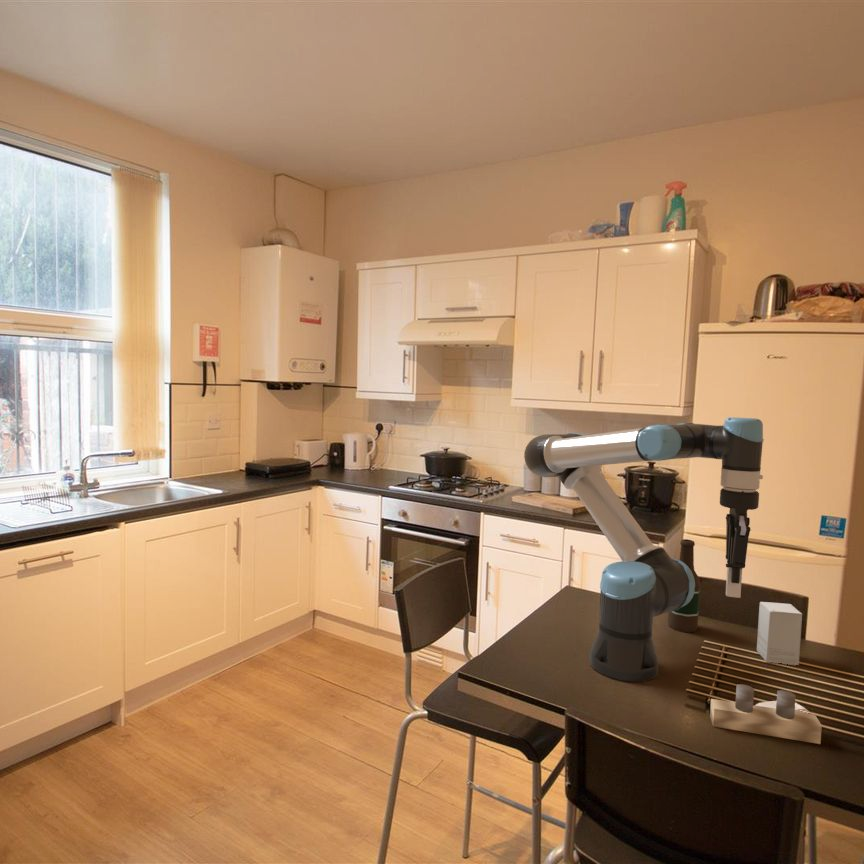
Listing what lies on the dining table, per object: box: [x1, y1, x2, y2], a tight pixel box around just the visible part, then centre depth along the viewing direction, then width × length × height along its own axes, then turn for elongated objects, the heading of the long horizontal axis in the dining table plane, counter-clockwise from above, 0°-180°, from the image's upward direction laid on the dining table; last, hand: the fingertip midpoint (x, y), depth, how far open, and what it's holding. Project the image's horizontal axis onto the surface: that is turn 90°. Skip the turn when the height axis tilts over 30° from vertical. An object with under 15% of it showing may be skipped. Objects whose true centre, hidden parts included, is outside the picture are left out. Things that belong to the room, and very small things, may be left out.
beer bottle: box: [667, 538, 701, 633], centre depth 166 cm, size 8×8×24 cm
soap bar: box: [755, 700, 810, 714], centre depth 121 cm, size 5×9×3 cm, turn 105°
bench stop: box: [709, 683, 823, 745], centre depth 116 cm, size 18×4×8 cm, turn 74°
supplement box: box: [756, 601, 803, 666], centre depth 148 cm, size 7×7×13 cm
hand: (732, 595), depth 134 cm, fingers closed
